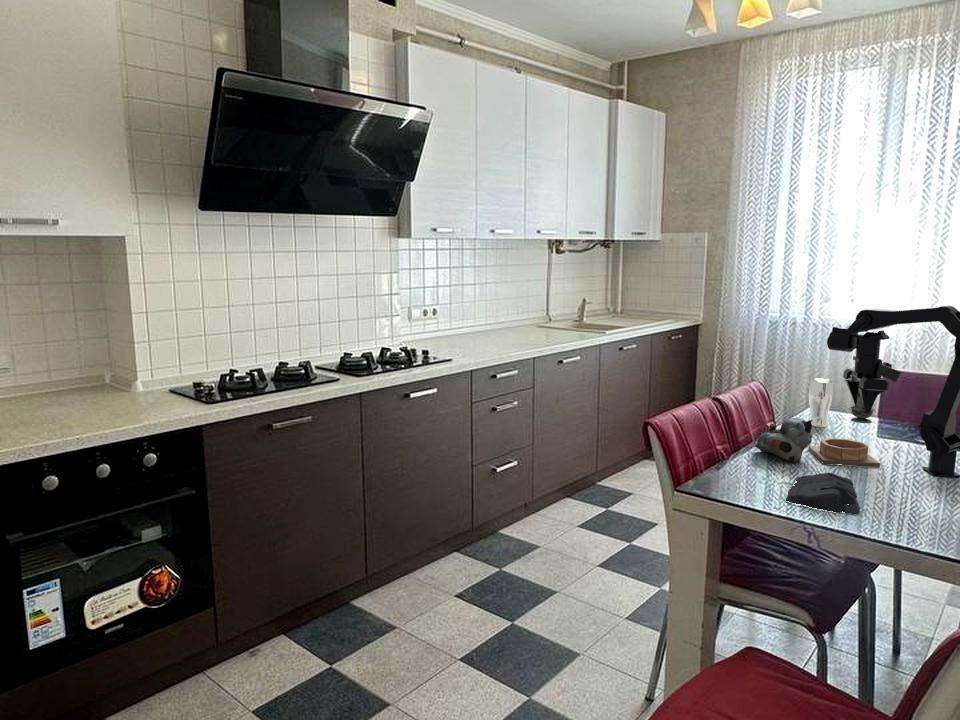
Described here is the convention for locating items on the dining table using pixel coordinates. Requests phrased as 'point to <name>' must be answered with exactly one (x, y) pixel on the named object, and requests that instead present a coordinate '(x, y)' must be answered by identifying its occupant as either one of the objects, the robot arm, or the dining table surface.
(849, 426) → the dining table surface
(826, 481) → the dark slate chunk
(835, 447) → the collar board
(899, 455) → the dining table surface
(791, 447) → the lucky cat figurine
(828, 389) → the beer glass
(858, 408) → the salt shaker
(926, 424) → the robot arm
